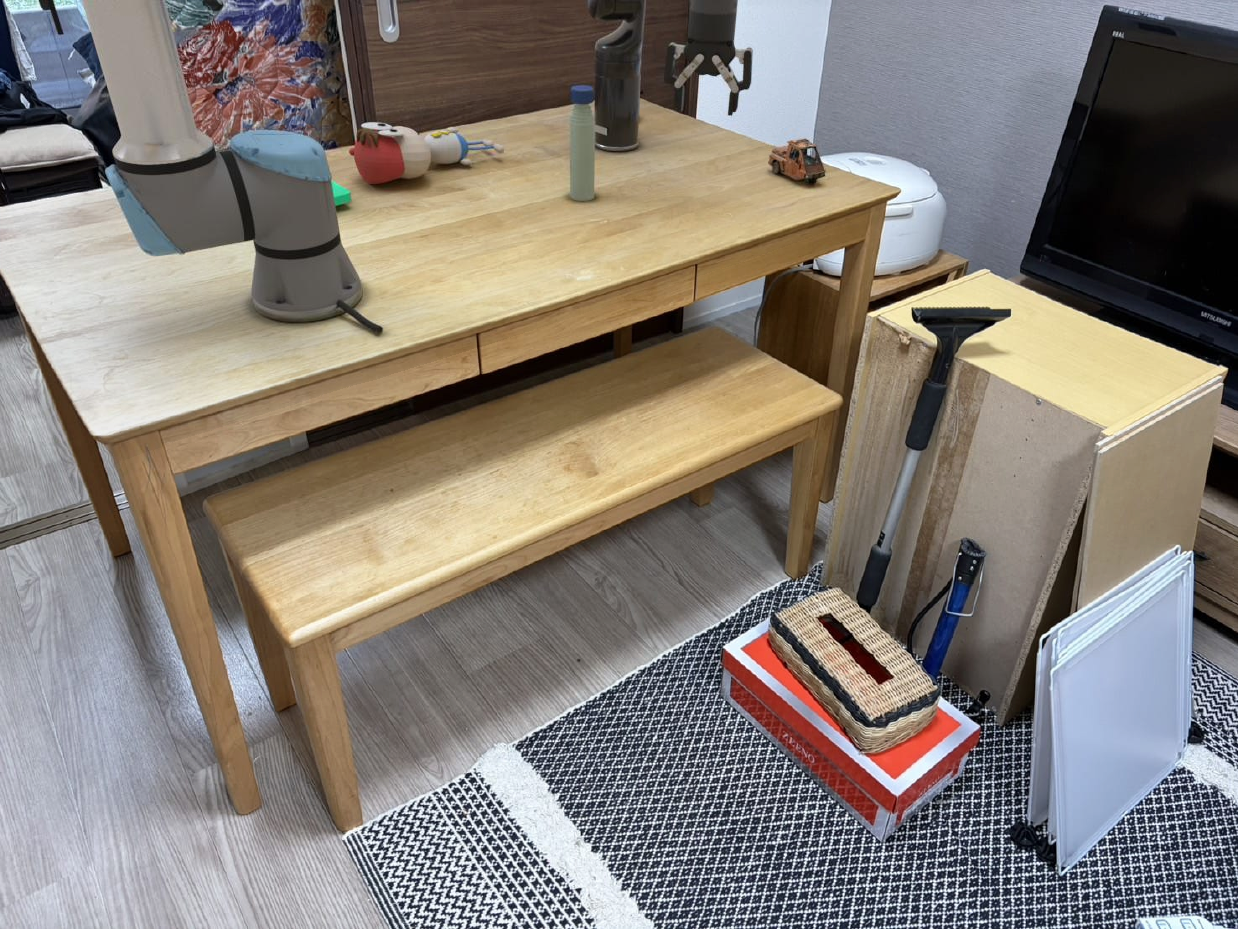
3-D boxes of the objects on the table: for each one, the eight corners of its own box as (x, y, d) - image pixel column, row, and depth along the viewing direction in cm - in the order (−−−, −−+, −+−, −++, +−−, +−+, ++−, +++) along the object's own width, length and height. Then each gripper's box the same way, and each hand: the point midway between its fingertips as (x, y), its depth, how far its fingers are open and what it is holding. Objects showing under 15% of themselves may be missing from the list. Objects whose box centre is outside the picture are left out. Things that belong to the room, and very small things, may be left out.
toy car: (784, 164, 186) (788, 129, 182) (830, 182, 178) (836, 146, 174) (762, 170, 183) (766, 135, 178) (807, 189, 175) (813, 152, 171)
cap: (597, 99, 160) (597, 86, 159) (587, 105, 157) (587, 92, 156) (576, 96, 162) (576, 83, 160) (567, 102, 159) (567, 89, 157)
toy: (520, 129, 175) (365, 133, 160) (519, 183, 180) (369, 192, 165) (478, 113, 188) (332, 115, 173) (478, 164, 193) (336, 170, 178)
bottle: (598, 194, 171) (599, 89, 159) (588, 202, 167) (588, 95, 156) (576, 190, 172) (576, 85, 161) (565, 198, 169) (565, 91, 157)
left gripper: (151, -134, 141) (187, 17, 154) (-38, -132, 131) (17, 30, 144) (159, -130, 136) (195, 26, 149) (-37, -127, 126) (20, 41, 138)
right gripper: (760, 5, 148) (749, 109, 158) (672, -1, 150) (667, 102, 160) (756, 14, 142) (745, 122, 152) (664, 8, 144) (659, 115, 154)
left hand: (108, 29), depth 146 cm, fingers open, 13 cm apart
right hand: (705, 112), depth 156 cm, fingers open, 8 cm apart
